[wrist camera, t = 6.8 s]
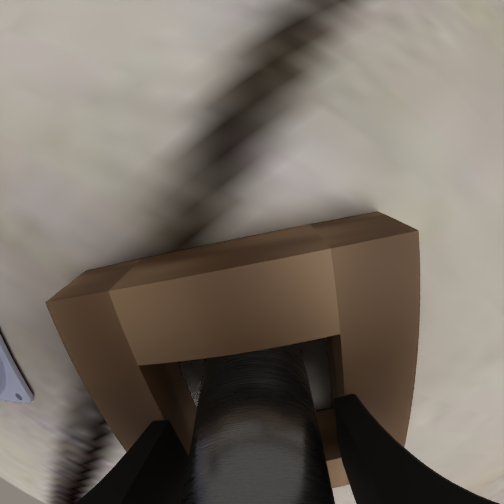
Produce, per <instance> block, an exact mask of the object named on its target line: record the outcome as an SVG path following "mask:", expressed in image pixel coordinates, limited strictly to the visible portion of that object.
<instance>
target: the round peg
mask: <svg viewBox="0 0 504 504" xmlns="http://www.w3.org/2000/svg"><path fill="white" fill-rule="evenodd" d="M181 504H335V501H334V496H333V491H332V486H331V482H330V477H329V472H328V467H327V462H326V457H325V453H324V448H323V443H322V439H321V434H320V429H319V425H318V420H317V416H316V411H315V407H314V402H313V398H312V393H311V389H310V384H309V380H308V376H307V371H306V367H305V363H304V359H303V356H302V354H301V352H300V350H299V349H298V347H297V346H296V345H295V344H291V345H286V346H280V347H275V348H269V349H263V350H258V351H252V352H245V353H239V354H233V355H226V356H219V357H212V358H207V359H206V363H205V368H204V374H203V379H202V384H201V390H200V395H199V401H198V406H197V412H196V418H195V423H194V429H193V435H192V441H191V446H190V452H189V458H188V464H187V470H186V476H185V482H184V489H183V495H182V501H181Z"/></svg>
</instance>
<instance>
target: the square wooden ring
mask: <svg viewBox="0 0 504 504" xmlns="http://www.w3.org/2000/svg"><path fill="white" fill-rule="evenodd" d="M46 305H47V307H48V310H49V312H50V315H51V317H52V319H53V322H54V324H55V326H56V329H57V331H58V333H59V335H60V337H61V340H62V342H63V344H64V346H65V348H66V350H67V352H68V354H69V356H70V358H71V360H72V362H73V364H74V366H75V368H76V370H77V372H78V374H79V376H80V378H81V380H82V381H83V383H84V385H85V387H86V389H87V390H88V392H89V394H90V396H91V397H92V399H93V401H94V403H95V404H96V406H97V408H98V409H99V411H100V413H101V414H102V416H103V417H104V419H105V421H106V422H107V424H108V425H109V427H110V428H111V430H112V431H113V433H114V434H115V436H116V437H117V439H118V440H119V442H120V443H121V445H122V446H123V448H124V449H125V451H126V452H127V451H128V450H129V449H130V448H131V447H132V445H133V444H134V443H135V442H136V441H137V439H138V438H139V437H140V436H141V434H142V433H143V432H144V431H145V429H146V428H147V427H148V426H149V425H150V423H151V422H152V421H158V420H169V421H170V423H171V425H172V427H173V428H174V430H175V432H176V434H177V436H178V438H179V439H180V441H181V443H182V445H183V447H184V448H185V450H186V452H187V454H188V455H189V452H190V446H191V441H192V435H193V429H194V423H195V418H196V412H197V408H196V406H195V403H194V401H193V399H192V396H191V394H190V392H189V389H188V387H187V384H186V382H185V380H184V377H183V375H182V372H181V370H180V367H179V365H178V362H179V361H188V360H196V359H204V358H212V357H219V356H226V355H233V354H239V353H245V352H252V351H258V350H263V349H269V348H275V347H280V346H286V345H291V344H296V343H301V342H306V341H311V340H315V339H320V338H325V337H326V341H327V350H328V360H329V370H330V380H331V391H332V403H333V408H331V409H326V410H322V411H317V412H316V416H317V420H318V425H319V429H320V434H321V439H322V443H323V448H324V453H325V457H326V462H327V467H328V472H329V477H330V482H331V486H332V488H335V487H340V486H344V485H348V484H350V483H349V480H348V477H347V474H346V472H345V469H344V466H343V463H342V458H341V454H340V449H339V445H338V440H337V431H336V415H335V401H334V398H337V397H341V396H345V395H349V394H355V395H357V397H358V398H359V399H360V401H361V402H362V403H363V405H364V406H365V407H366V409H367V410H368V411H369V412H370V413H371V415H372V416H373V417H374V418H375V419H376V420H377V421H378V422H379V424H380V425H381V426H382V427H383V428H384V429H385V430H386V431H387V432H388V433H389V434H390V435H391V436H392V437H393V438H394V439H395V440H396V441H397V442H398V443H400V444H401V445H402V446H403V447H404V446H405V441H406V436H407V430H408V424H409V419H410V412H411V406H412V399H413V391H414V383H415V374H416V364H417V353H418V339H419V319H420V251H419V232H418V230H416V229H414V228H412V227H410V226H408V225H406V224H404V223H402V222H400V221H398V220H396V219H393V218H391V217H389V216H387V215H385V214H383V213H380V212H374V213H368V214H363V215H358V216H352V217H347V218H342V219H336V220H331V221H326V222H321V223H315V224H310V225H305V226H300V227H295V228H290V229H284V230H279V231H274V232H269V233H264V234H259V235H254V236H249V237H244V238H239V239H234V240H229V241H224V242H219V243H214V244H210V245H205V246H200V247H195V248H190V249H185V250H181V251H176V252H171V253H166V254H161V255H157V256H152V257H147V258H143V259H138V260H133V261H129V262H124V263H119V264H115V265H110V266H105V267H101V268H96V269H92V270H87V271H85V272H84V273H83V274H81V275H80V276H79V277H77V278H76V279H75V280H73V281H72V282H71V283H70V284H68V285H67V286H66V287H64V288H63V289H62V290H60V291H59V292H58V293H57V294H55V295H54V296H53V297H52V298H50V299H49V300H48V301H46Z"/></svg>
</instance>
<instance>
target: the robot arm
mask: <svg viewBox="0 0 504 504" xmlns="http://www.w3.org/2000/svg"><path fill="white" fill-rule="evenodd" d="M33 399H34V397H33V394H32V393H31V391H30V389H29V388H28V386H27V384H26V383H25V381H24V379H23V377H22V376H21V374H20V372H19V370H18V368H17V366H16V365H15V363H14V361H13V359H12V357H11V355H10V353H9V351H8V349H7V347H6V345H5V343H4V341H3V339H2V337H1V335H0V400H4V401H11V402H18V403H26V404H30V403H31V402H32V401H33ZM334 401H335V415H336V431H337V440H338V445H339V449H340V454H341V458H342V463H343V466H344V469H345V472H346V474H347V477H348V480H349V483H350V486H351V489H352V492H353V495H354V498H355V500H356V503H357V504H499V503H496V502H493V501H491V500H488V499H486V498H483V497H481V496H478V495H476V494H474V493H472V492H470V491H468V490H466V489H464V488H462V487H460V486H458V485H456V484H454V483H452V482H451V481H449V480H447V479H446V478H444V477H442V476H441V475H439V474H438V473H436V472H435V471H433V470H432V469H430V468H429V467H428V466H426V465H425V464H423V463H422V462H421V461H420V460H418V459H417V458H416V457H415V456H413V455H412V454H411V453H410V452H409V451H407V450H406V449H405V448H404V447H403V446H402V445H401V444H400V443H398V442H397V441H396V440H395V439H394V438H393V437H392V436H391V435H390V434H389V433H388V432H387V431H386V430H385V429H384V428H383V427H382V426H381V425H380V424H379V422H378V421H377V420H376V419H375V418H374V417H373V416H372V415H371V413H370V412H369V411H368V410H367V409H366V407H365V406H364V405H363V403H362V402H361V401H360V399H359V398H358V397H357V395H355V394H349V395H345V396H341V397H337V398H334ZM188 458H189V455H188V454H187V452H186V450H185V448H184V447H183V445H182V443H181V441H180V439H179V438H178V436H177V434H176V432H175V430H174V428H173V427H172V425H171V423H170V421H169V420H158V421H152V422H151V423H150V425H149V426H148V427H147V428H146V429H145V431H144V432H143V433H142V434H141V436H140V437H139V438H138V439H137V441H136V442H135V443H134V444H133V445H132V447H131V448H130V449H129V450H128V451H127V453H126V454H125V455H124V456H123V457H122V458H121V460H120V461H119V462H118V463H117V464H116V465H115V466H114V467H113V469H112V470H111V471H110V472H109V473H108V474H107V475H106V476H105V477H104V478H103V479H102V480H101V481H100V482H99V483H98V484H97V485H96V486H95V487H94V488H93V489H92V490H90V491H89V492H88V493H87V494H86V495H85V496H83V497H82V498H81V499H80V500H78V501H77V502H76V503H74V504H181V501H182V495H183V489H184V482H185V476H186V470H187V464H188Z"/></svg>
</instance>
